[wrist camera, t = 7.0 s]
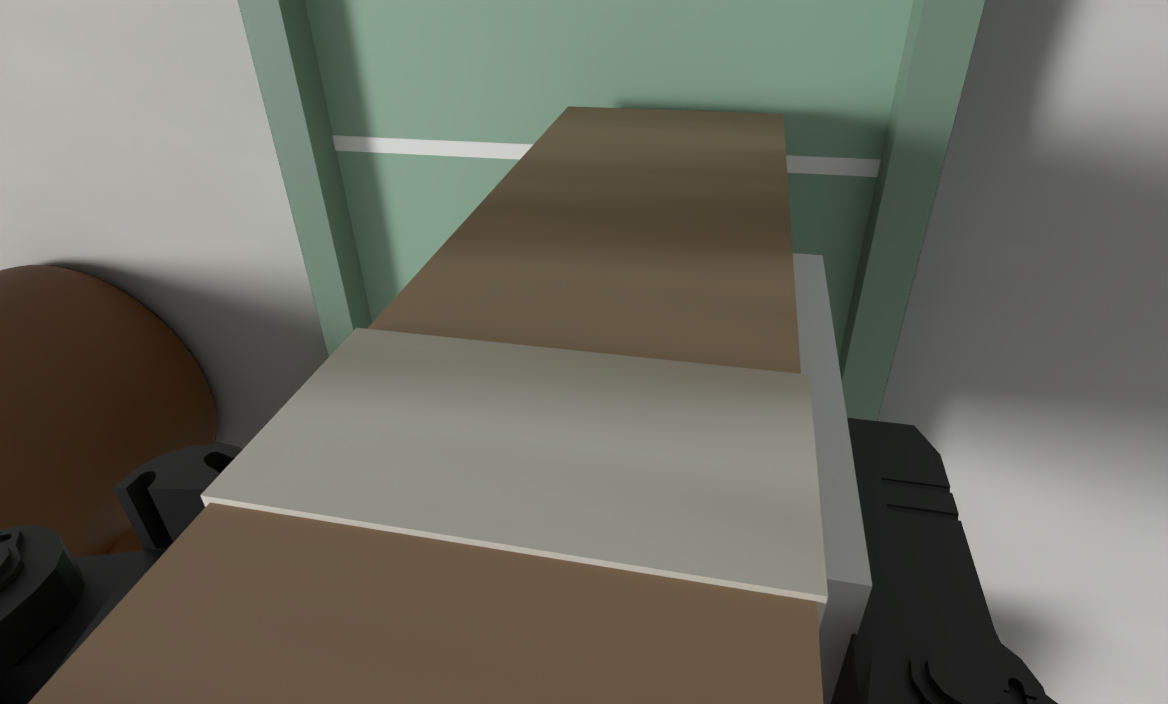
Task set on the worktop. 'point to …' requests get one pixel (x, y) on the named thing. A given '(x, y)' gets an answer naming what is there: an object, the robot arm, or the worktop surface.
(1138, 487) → the worktop surface
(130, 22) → the worktop surface
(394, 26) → the pitch
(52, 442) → the mug
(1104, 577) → the worktop surface
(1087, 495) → the worktop surface
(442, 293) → the block
